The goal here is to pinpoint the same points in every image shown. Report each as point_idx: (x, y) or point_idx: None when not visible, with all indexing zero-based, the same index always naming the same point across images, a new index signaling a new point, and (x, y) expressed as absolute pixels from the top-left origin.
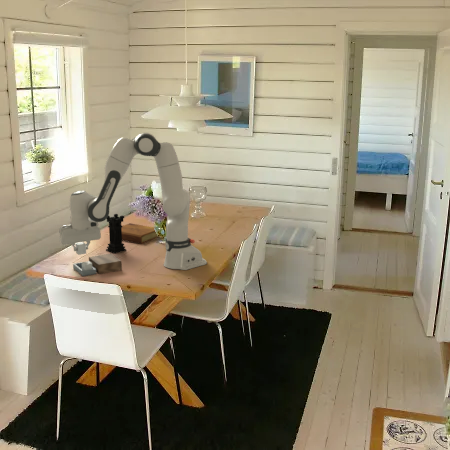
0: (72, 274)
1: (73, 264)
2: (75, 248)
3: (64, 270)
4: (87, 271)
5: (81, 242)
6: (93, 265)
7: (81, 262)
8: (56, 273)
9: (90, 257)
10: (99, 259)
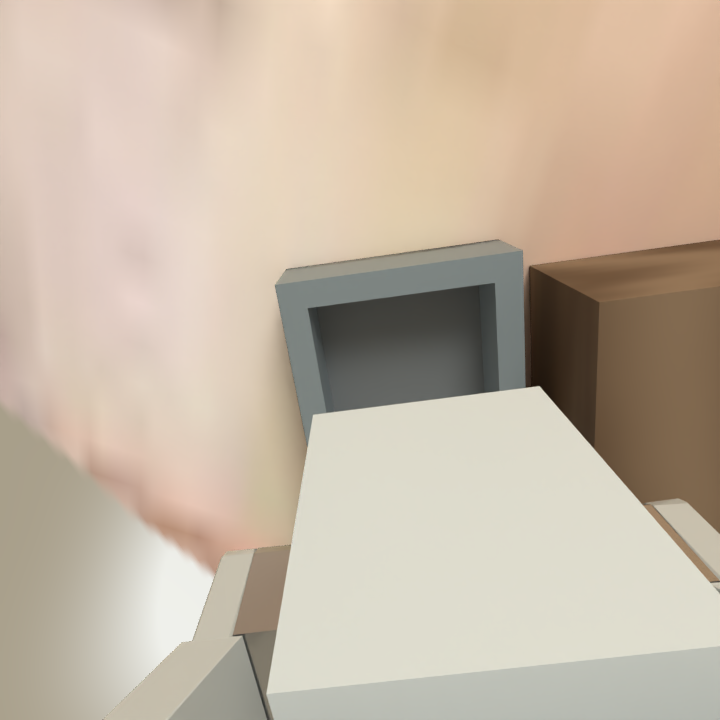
0: (246, 494)
1: (280, 301)
2: (255, 717)
3: (152, 311)
4: None
5: (626, 690)
6: None
7: (425, 276)
8: (43, 392)
9: (617, 347)
10: (709, 512)
